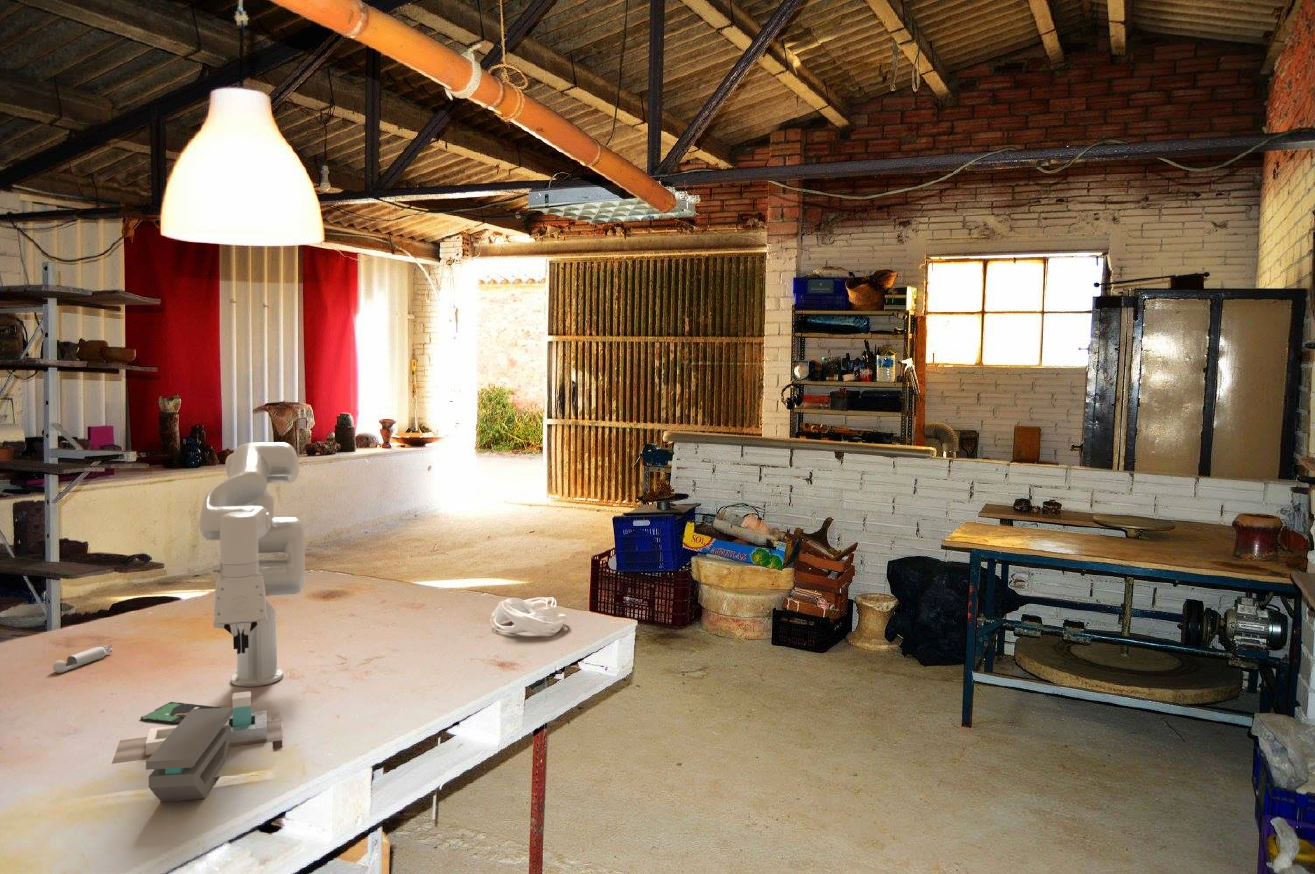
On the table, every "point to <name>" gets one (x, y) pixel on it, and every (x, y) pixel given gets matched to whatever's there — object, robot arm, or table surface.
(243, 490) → the robot arm
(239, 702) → the plug
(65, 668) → the torpedo
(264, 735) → the port
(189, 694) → the table surface
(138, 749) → the board
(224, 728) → the grey slotted long block
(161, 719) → the disk drive
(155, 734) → the cream square frame
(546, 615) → the coil
